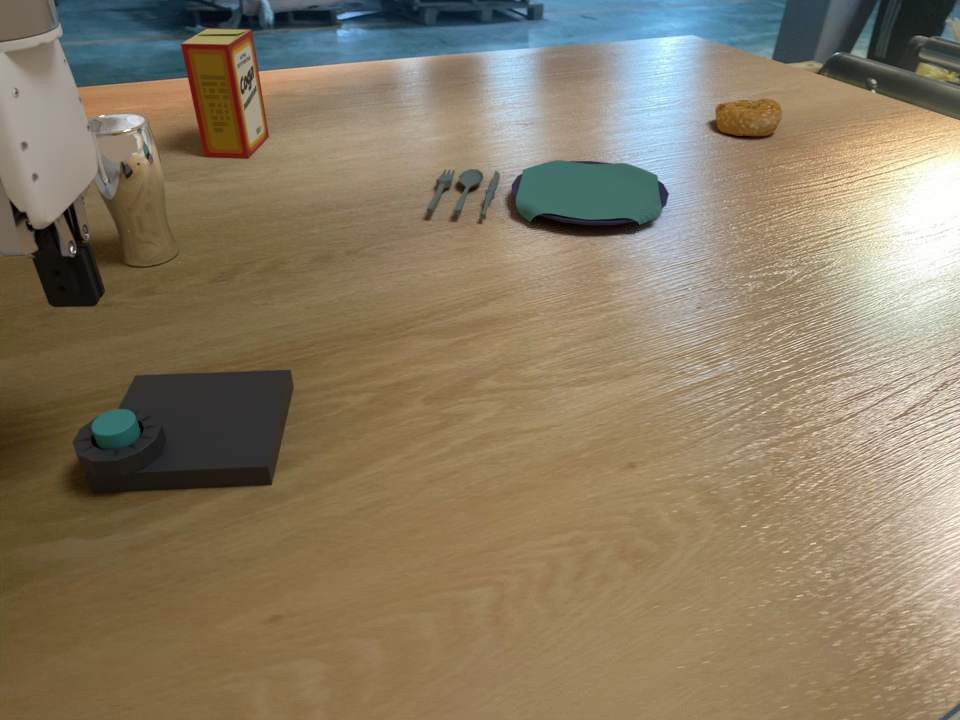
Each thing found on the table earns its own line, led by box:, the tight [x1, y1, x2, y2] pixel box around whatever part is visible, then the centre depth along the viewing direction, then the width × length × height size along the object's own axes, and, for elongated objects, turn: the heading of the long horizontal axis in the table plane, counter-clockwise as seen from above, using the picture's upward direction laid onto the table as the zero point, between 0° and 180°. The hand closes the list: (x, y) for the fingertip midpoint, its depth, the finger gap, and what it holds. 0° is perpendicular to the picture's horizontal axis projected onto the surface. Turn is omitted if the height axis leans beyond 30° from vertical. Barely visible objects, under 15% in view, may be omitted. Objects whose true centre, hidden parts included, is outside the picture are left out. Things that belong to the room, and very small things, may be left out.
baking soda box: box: [180, 27, 270, 159], centre depth 110 cm, size 10×6×16 cm
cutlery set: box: [426, 159, 670, 226], centre depth 98 cm, size 20×30×2 cm, turn 82°
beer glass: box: [87, 112, 179, 268], centre depth 82 cm, size 7×7×15 cm
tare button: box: [91, 408, 141, 450], centre depth 55 cm, size 3×3×2 cm
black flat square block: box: [72, 369, 295, 494], centre depth 59 cm, size 14×12×4 cm
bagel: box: [714, 98, 783, 137], centre depth 120 cm, size 10×11×5 cm
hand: (78, 300), depth 52 cm, fingers closed
